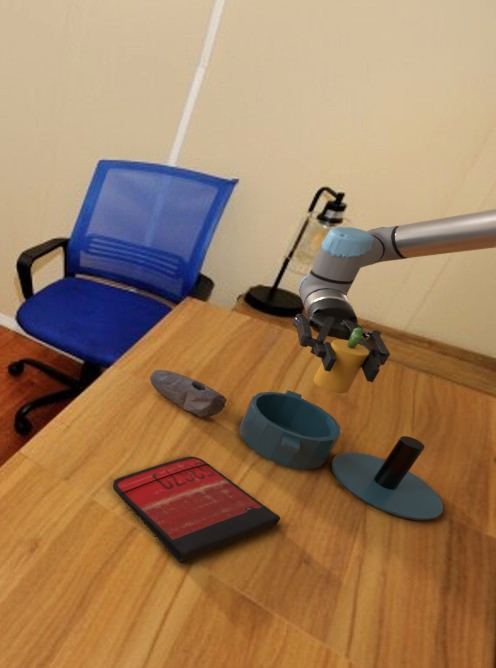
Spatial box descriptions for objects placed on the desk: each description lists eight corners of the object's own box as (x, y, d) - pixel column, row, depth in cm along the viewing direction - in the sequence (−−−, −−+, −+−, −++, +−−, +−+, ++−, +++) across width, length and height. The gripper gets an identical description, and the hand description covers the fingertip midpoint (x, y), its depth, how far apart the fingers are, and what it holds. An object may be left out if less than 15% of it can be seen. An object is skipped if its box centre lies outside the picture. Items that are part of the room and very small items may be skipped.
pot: (323, 431, 104) (338, 403, 101) (324, 491, 91) (342, 461, 88) (243, 403, 112) (255, 376, 108) (234, 455, 99) (247, 427, 95)
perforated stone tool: (140, 388, 117) (148, 363, 114) (154, 381, 119) (162, 357, 116) (206, 428, 105) (217, 402, 102) (221, 419, 107) (231, 394, 104)
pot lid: (432, 481, 93) (465, 436, 87) (447, 538, 82) (485, 492, 77) (329, 445, 101) (353, 402, 96) (330, 492, 91) (358, 447, 86)
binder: (281, 516, 84) (184, 555, 78) (277, 526, 85) (180, 565, 79) (196, 450, 98) (107, 479, 92) (193, 459, 99) (105, 488, 93)
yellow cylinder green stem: (347, 383, 99) (378, 326, 93) (348, 397, 95) (381, 339, 89) (313, 373, 102) (341, 317, 96) (313, 386, 98) (342, 329, 92)
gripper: (378, 340, 106) (410, 404, 89) (271, 316, 115) (281, 370, 98) (395, 309, 103) (432, 369, 85) (283, 288, 111) (296, 338, 94)
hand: (351, 370), depth 92 cm, fingers closed on yellow cylinder green stem, 5 cm apart
